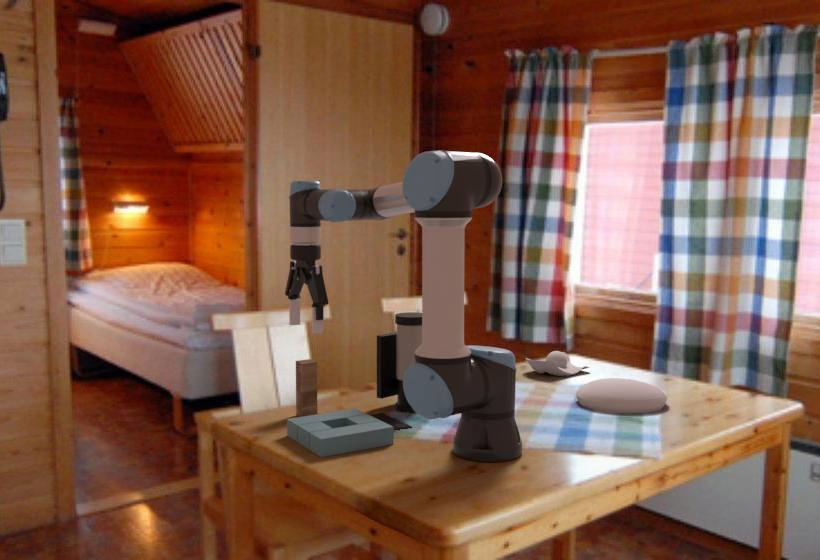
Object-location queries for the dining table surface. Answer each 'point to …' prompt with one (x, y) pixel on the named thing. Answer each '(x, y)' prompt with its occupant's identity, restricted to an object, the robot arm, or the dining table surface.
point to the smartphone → (391, 421)
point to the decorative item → (621, 396)
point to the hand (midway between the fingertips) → (306, 329)
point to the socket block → (339, 432)
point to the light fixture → (398, 357)
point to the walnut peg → (306, 388)
